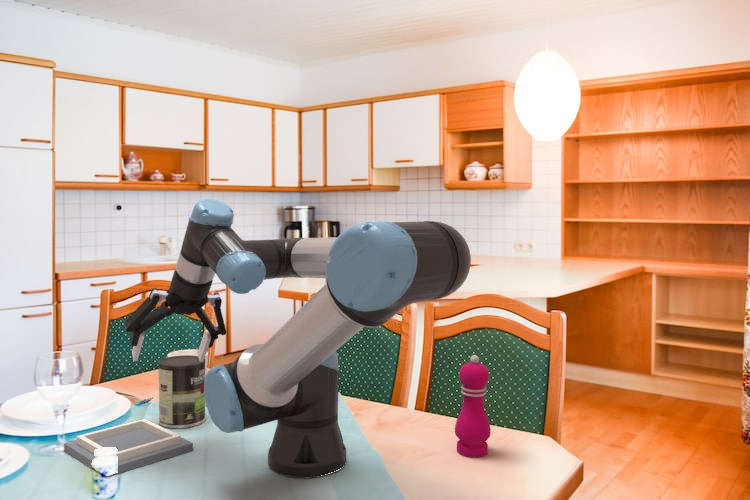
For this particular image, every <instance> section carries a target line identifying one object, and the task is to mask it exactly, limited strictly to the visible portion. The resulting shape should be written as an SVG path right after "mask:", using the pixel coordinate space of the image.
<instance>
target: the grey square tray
mask: <svg viewBox="0 0 750 500" xmlns="http://www.w3.org/2000/svg"><path fill="white" fill-rule="evenodd" d="M102 447H116V448H117V449H118V452H117V456H118V474H122V473H125V472H128V471H131V470H134V469H138V468H140V467H145V466H147V465H151V464H154V463H157V462H160V461H162V460H167V459H170V458H172V457H176V456H180V455H183V454H186V453H189V452H192V451H194V442H192V441H189V440H187V439H185V438H183V437H182V436H181V435H180V434H177V433H176V432H173V431H171V430H169V429H168V428H166V427H163V426H161V425H158V424H156V423H154V422H151V421H150V420H147V419H146V418H142V419H138V420H134V421H131V422H130V421H129V422H127V423H123V424H119V425H115V426H111V427H107V428H104V429H100V430H99V429H98V430H96V431H92V432H89V433H88V432H87V433H83V434H80V435H77V436H76V440H73V441H69V442H64V443H63V451H64V452H66V454H68V455H70V456H72V457H73V458H74V459H76V460H78V461H79V462H82V463H83V464H85V465H86V466H87V467H89V468H91V469H92V465H91V463H92V460H93V459H94V458H95V456H94V450H95V449H98V448H102ZM118 474H117V475H118Z"/></svg>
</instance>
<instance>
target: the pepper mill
mask: <svg viewBox="0 0 750 500" xmlns="http://www.w3.org/2000/svg"><path fill="white" fill-rule="evenodd" d="M469 360H470V362H467V363H465V364H463V365H462V366H461V368H460V370H459V375H458V376H459V380H460V382H461V383H462V385H461V387H460V388H461V394H462V397H463V399H462V400H463V401H462V406H461V411H460V413H459V415H458V417H457V419H456V422H455V425H454V426H455V427H454V435H455V436H456V437H457V438H458V440H457V441H456V452H457V453H458V454H459V455H461V456H463V457H467V458H480V457H481V458H482V457H484V456H486V455H487V454H488V452H489V448H488V447H489V444H488V442H487V440H488V439H489V438H490V436H491V433H492V432H491V425H490V421H489V418H488V417H487V413H486V411H485V410H486V409H485V406H484V405H485V404H484V403H485V401H484V400H485V395H487V391H486V390H487V386H486V385H487V384H488V382H489V380H490V372H489V370H488V368H487V366H486V365H484V364H483V363H480V358H479V356H478V355H476V354H473V355H471V356H470V357H469Z"/></svg>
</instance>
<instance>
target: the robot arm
mask: <svg viewBox="0 0 750 500" xmlns="http://www.w3.org/2000/svg"><path fill="white" fill-rule="evenodd" d="M234 216H235V215H234V211H233V209H232V207H231V206H230V205H228V204H226V203H224V202H222V201H219V200H216V199H210V198H209V199H205V198H204V199H201V200H199V201H197V202H196V203H195V204H194V206H193V209H192V212H191V214H190V217H188V223H187V226H186V230H185V234H184V236H183V241H182V243H181V248H180V251H179V255H178V257H177V261H176V265H175V269H174V271H173V274H172V278H171V282H170V285H169V288H168V289H167V291H166V292H165V291H159V289H158V288H157V287H154V288H152V289H151V290H150V293H149V295H148V296H147V297H146V299H145V300H144V301H143V302H142V303H141V304H140V305H139V306H138V307H137V308H136V309H135V310H134V311H133V312H132V314H131V315H130V316H128V318H127V319H126V320H125V321H124V325H125V330H126V332H127V333H131V336H130V339H129V340H130V344H131V346H132V350H131V355H132V360H133V362H138V361H139V358H140V357H139V356H140V354H141V350H142V346H143V342H144V339H145V332H146V331H147V330H149V329H151V327H153V326H154V325H156V324H157V323H159V322H160V321H162V320H164V319H165V318H167V317H171V316H173V315H174V314H175V315H186V316H191V315H194V314H195V315H196V316H197V318H198V319H199V320H200V321H201V323H202V325H203V326H204V327H205V330H204V332H203V335H202V339H201V340H200V344H199V347H198V349H197V350H198V352H197V355H198V358H199V361H200V362H203V361H204V358H205V355H206V352H208V349H211V348H212V347H213V346H214V343H215V341H216V340H217V339H219V335H221V336H225V335H226V334H227V329H226V325H225V320H224V317H223V313H222V309H221V306H222V303H223V301H222V298H221V294H220V293H219V292H214V293H213V294H211V295H210V294H209V293H210V290H211V287H212V284H213V279H214V278H215V275H216V276H217V277H218V280H219V281H221V282H222V283H223V284H224V285H225V286H226V287H227V288H228V289H229V290H230V291H232V292H233V293H235V294H237V295H238V294H239V295H243V294H244V295H245V294H249V293H250V292H251V291H252V290H254V291H255V290H256V289H257V288H258V287H260V285H262V283H263V282H264V281H266V280H272V279H273V280H274V279H284V278H285V279H286V278H294V279H295V278H297V279H302V278H304V279H305V278H307V279H310V278H311V279H325V284H324V285H323V286H322V287H321V288H320V289H319V290H318V291H317V292H316V293H315V294H314V295H313V296H312V297H311V298H310V299H309V300H307V302H306V303H305V304H303V306H302V307H300V308H299V309H298V310H297V311H296V312H295V313H294V314H293V315H292V316H291V317H290V318H289V319H288V320H287V321H286V322H285V323H284V324H283V325H282V326H281V327H280V328H279V329H278V330H277V331H276V332H275V333H273V335H272V336H271V337H269V339H268V340H266V341H265V342H264V343H259V344H258V343H257V344H254V345H251V346H249V347H248V348H246V349H245V350H243V352H241V354H240V355H238V357H236V358H235V359H234V360H233V361H231V362H229V363H225V364H222V363H220V364H217V365H216V366H212V367H211V368H210V369H208V370H207V374H206V377H205V382H204V395H205V407H206V409H207V411H208V412H207V413H208V415H209V417H210V419H211V421H212V423H213V424H214V425H215V427H217V428H218V429H219V430H220V431H221V432H224V433H227V434H230V433H236V432H239V433H240V432H243V431H244V430H248V429H252V428H254V427H257V426H261V425H265V424H268V423H271V422H274V421H277V424H276V428H275V431H274V433H273V434H274V435H273V439H272V441H271V442H272V443H271V445H270V447H269V449H268V452H267V465H268V467H269V469H271V470H272V471H273V472H274V473H277V474H279V475H282V476H286V477H289V478H291V477H292V478H299V479H300V478H305V477H310V478H318V477H317V476H320V477H322V476H321V475H325V474H328V473H331V472H334V471H336V470H338V469H340V468H342V467H343V466H344V465H345V466H346V464H347V448H346V445H345V443H344V439H343V435H342V432H341V431H342V430H341V428H340V426H339V382H340V381H339V380H340V379H339V375H340V374H339V373H340V367H339V355H338V352H337V350H338V349H340V348H341V347H342V346H343V345H345V343H347V342H348V341H349V340H350V339H352V338H353V337H354V336H355V335H356V334H358V333H359V332H360V331H361V330H362V329H363V328H370V329H371V328H379V327H381V326H383V325H384V324H385V323H387V322H388V321H390V320H391V319H392V318H393V317H394V316H395V315H397V314H398V313H399V312H401V311H402V310H403V309H405V307H407V306H409V305H413V304H416V303H422V302H430V301H434V300H440V299H443V298H446V297H448V296H451V295H452V294H454V293H455V292H457V291H458V290H459V288H461V287H462V286H463V285H464V283H465V282H466V280H467V279H468V277H469V276H468V275H469V273H470V269H471V265H472V263H471V262H472V257H471V256H472V255H471V250H470V247H469V245H468V243H467V241H466V239H465V238H464V236H463V235H462V234H461V233H460V231H459V230H457V229H456V228H455V227H452V226H450V225H449V224H447V223H445V222H444V223H443V222H440V221H435V220H433V221H432V220H431V221H429V220H426V221H398V222H397V221H392V222H391V221H387V220H372V221H367V222H365V223H363V222H362V223H358V224H355V225H352V226H349V227H348V228H347V229H345V230H343V231H342V233H340V234H339V235H338V236H337V237H334V236H333V237H331V236H330V237H292V238H279V239H278V238H277V239H275V238H274V239H253V240H252V239H248V240H247V239H245V240H243V239H242V238H241V237H240V236H239V235H238V234H237V233H236V232H235V230H234V229H233V228H232V225H233V222H234ZM162 300H164V301H162ZM208 303H209V304H210V306H212V307H213V311H214V315H215V319H216V323H217V326H215V325H214V324H213V322H212V320H211V319H210V317H209V316H208V314H207V313H206V312H205V310H204V309H203V307H204V306H206V305H207V304H208ZM158 304H160V306H158V307H156V306H157V305H158ZM155 307H156V308H155ZM345 463H346V464H345ZM345 466H344V467H345ZM344 467H343V468H344ZM343 468H342V469H343ZM340 470H341V469H340ZM325 476H326V475H325ZM305 479H306V478H305Z"/></svg>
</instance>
